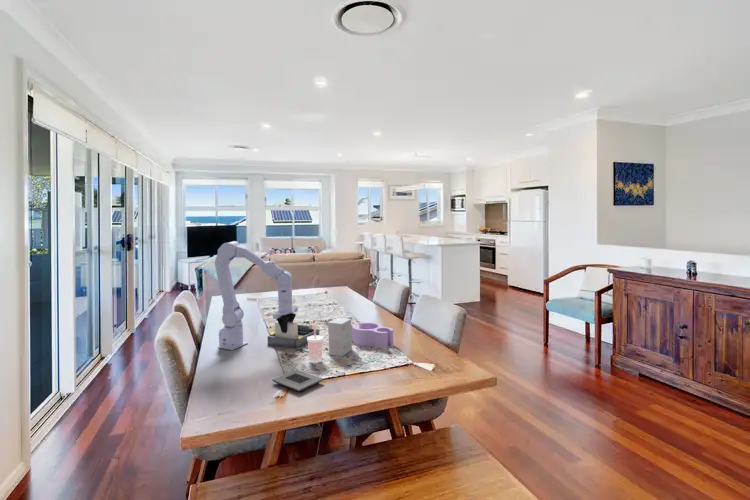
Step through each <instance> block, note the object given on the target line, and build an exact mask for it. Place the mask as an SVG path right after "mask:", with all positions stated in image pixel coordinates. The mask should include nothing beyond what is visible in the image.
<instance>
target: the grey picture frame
mask: <svg viewBox="0 0 750 500" xmlns="http://www.w3.org/2000/svg"><path fill="white" fill-rule="evenodd" d="M271 381H272V382H274V383H276V384H279V385H281V386H283V387H287V388H289V389H291V390H294V391H296V392H301V391H304V390H305V389H308V388H310V387H312V386H314V385H317V384H319V383H321V382H323V381H324V378H322V377H320V376H317V375H313V374H311V373H308V372H305V371H301V370H299V369H294V370H292V371H289V372H287V373H284V374H282V375H280V376H278V377H275V378H273V379H271Z"/></svg>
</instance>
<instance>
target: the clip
mask: <svg viewBox="0 0 750 500" xmlns="http://www.w3.org/2000/svg"><path fill="white" fill-rule="evenodd" d="M358 324H359V327H357V324H351V338H352V344H354V345H356V346H360V347H373V348H375V347H376V349H378V348H388V347H389V346H390V347H394V329H393V328H392V327H387V326H382V325H381V324H380V323H378V322H372V321H369V322H368V321H364V322H363V321H358ZM388 345H389V346H388Z"/></svg>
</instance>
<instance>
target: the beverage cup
mask: <svg viewBox="0 0 750 500" xmlns="http://www.w3.org/2000/svg"><path fill="white" fill-rule="evenodd" d="M313 329H314V335H313V336H309V337H307V341H308V343H307V345H308V346H307V347H308V358H309V359H308V360H309V363H312V364H317V363H318V362H319V363H321V362H322V359H323V340H324V336H323V335H320V334H319V335H316V330H315V329H316V324H313Z"/></svg>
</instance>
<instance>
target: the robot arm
mask: <svg viewBox="0 0 750 500" xmlns="http://www.w3.org/2000/svg"><path fill="white" fill-rule="evenodd" d="M235 258H238V259H241V258H244V259H246V260H247V261H249V262H250V263H252V264H254V265H256V266H257V267H259V268H260V270H261V273H263V274H265V275H266V276H267V277H269V278H270V279H272V280H273V281H275V282H276V285H277V288H278V289H277V297H278V299H277V301H278V302H277V303H278V304H277V305H278V310H277V311H276V312H275V313H273V314H272V319H273V320H276V321H278V323H279V325H280V328H281V331H282V333H287V324H288V322H294V320H295V317H296V313H295V312H298V309H299V308H298V306H293V289H292V281H293V274H292V273H291V272H290V271H289V270H285V268H281V267H280V266H278V265H277V264H276V262H275V261H271V260H268V261H267V260H266V261H265V260H264V259H263V258H262V257H260V256H259V255H258V254H256V253H255V252H254V251H252V250H251V249H250V248H249V247H247V246H245V245H244V244H241V243H240V242H239V241H236V240H233V241H230V242H224V243H222V244H221V245H220V246H219V248H218V249H217V254H216V256H215V260H214V268H215V272H216V275H217V281H218V284H219V289H220V295H221V298H222V302H223V305H222V318H221V320H222V321H221V322H222V324H223V325H224V326H223V327H222V328H221V329H220V330H219V331H218V343H219V346H217V348H219V349H224V350H230V351H233V350H236V349H237V348H240V347H243V346H245V345H248V342H247V341H244V331H243V330H244V328H243V322H242V319H243V318H244V311H243V309H242V307H241V304H240V303H239V302H238V301H237V297H236V292H235V287H234V282H233V280H232V274H231V269H230V266H229V265H230V264H231V262H232V261H233V260H234V259H235Z"/></svg>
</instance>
